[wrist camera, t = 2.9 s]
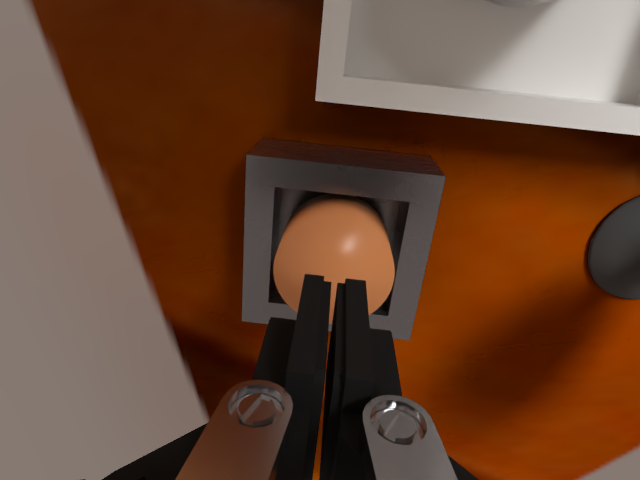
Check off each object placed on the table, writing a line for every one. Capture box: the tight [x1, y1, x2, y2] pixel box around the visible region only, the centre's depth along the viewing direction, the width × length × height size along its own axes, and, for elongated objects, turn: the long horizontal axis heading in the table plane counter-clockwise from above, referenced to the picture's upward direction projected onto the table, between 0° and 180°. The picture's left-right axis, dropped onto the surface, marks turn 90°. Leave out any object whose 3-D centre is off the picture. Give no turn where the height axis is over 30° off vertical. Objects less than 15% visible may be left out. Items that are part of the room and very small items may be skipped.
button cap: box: [273, 194, 395, 324], centre depth 15 cm, size 4×4×2 cm
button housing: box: [242, 138, 446, 340], centre depth 17 cm, size 7×7×3 cm
